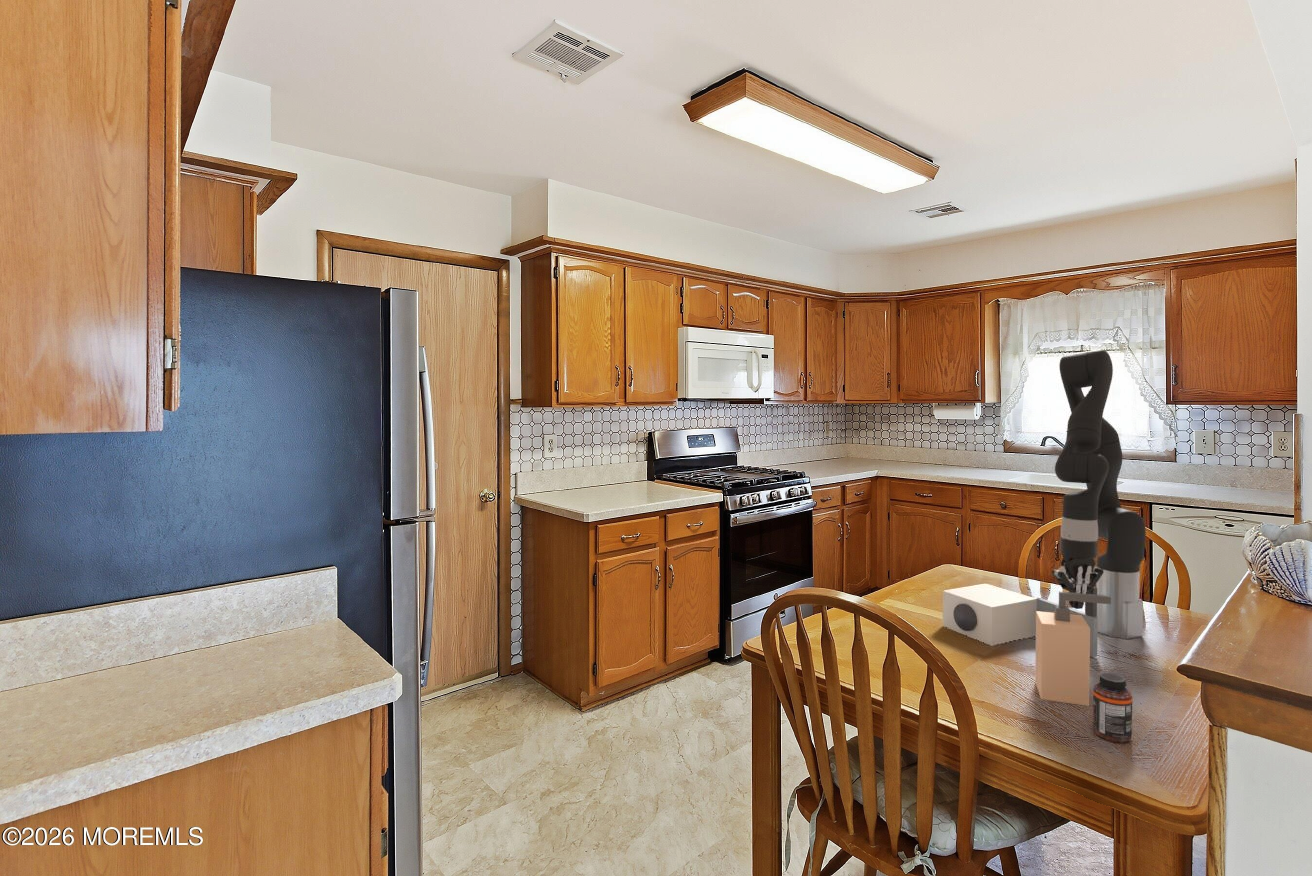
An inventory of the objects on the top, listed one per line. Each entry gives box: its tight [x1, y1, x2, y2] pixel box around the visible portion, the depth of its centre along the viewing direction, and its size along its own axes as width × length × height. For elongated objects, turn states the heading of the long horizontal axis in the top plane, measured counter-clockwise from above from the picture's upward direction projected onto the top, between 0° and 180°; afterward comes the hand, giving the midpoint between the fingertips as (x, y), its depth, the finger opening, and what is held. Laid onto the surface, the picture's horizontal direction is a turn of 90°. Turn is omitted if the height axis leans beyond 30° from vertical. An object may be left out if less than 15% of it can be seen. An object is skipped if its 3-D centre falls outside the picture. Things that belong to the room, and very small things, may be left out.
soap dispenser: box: [1034, 591, 1111, 707], centre depth 137 cm, size 13×9×22 cm
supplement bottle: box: [1092, 672, 1133, 744], centre depth 121 cm, size 6×6×11 cm
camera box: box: [942, 582, 1037, 647], centre depth 175 cm, size 16×17×10 cm
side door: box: [1036, 586, 1099, 658], centre depth 163 cm, size 2×16×17 cm, turn 17°
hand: (1076, 607), depth 156 cm, fingers closed
